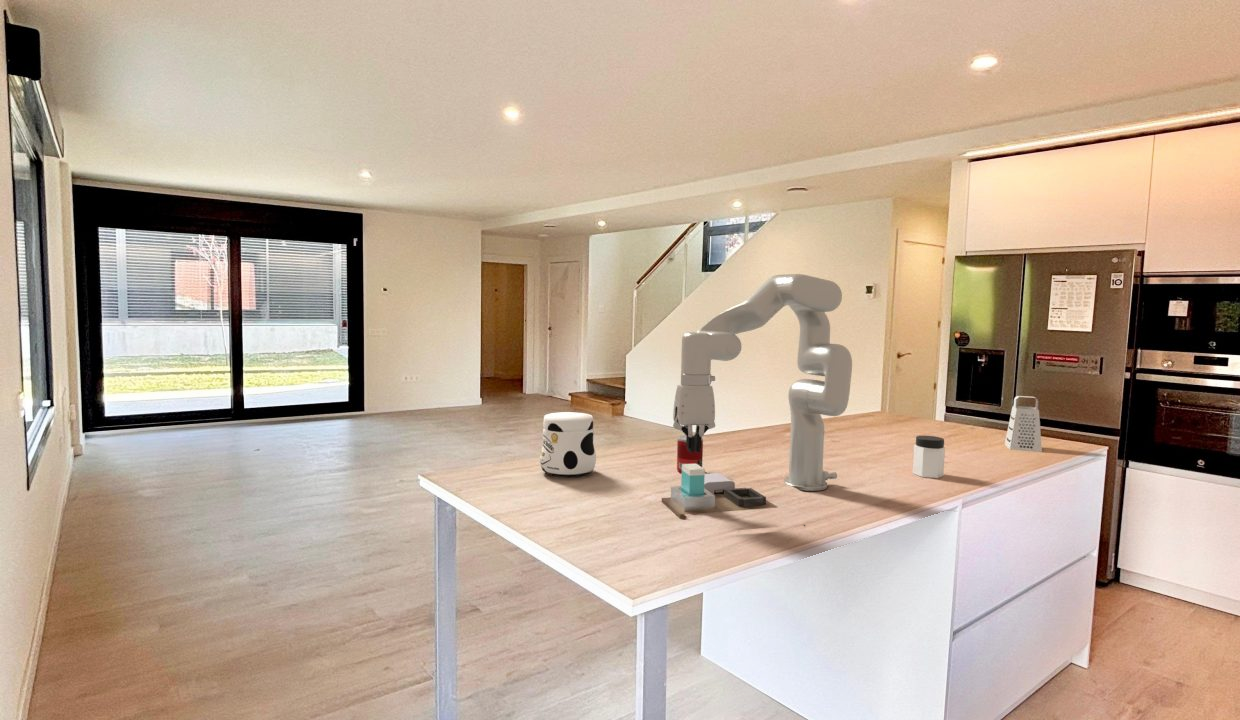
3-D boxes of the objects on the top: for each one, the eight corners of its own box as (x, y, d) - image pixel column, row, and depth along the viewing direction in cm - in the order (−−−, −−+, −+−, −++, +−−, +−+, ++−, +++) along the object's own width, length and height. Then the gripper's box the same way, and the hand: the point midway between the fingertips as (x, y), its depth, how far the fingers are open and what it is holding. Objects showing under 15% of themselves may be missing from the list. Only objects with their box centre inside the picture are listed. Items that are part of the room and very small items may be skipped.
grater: (1041, 452, 244) (1045, 399, 242) (1009, 449, 248) (1013, 397, 246) (1035, 446, 254) (1038, 396, 252) (1004, 444, 258) (1007, 394, 256)
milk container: (528, 474, 199) (528, 416, 198) (564, 463, 214) (564, 409, 212) (572, 484, 190) (572, 423, 188) (606, 472, 204) (607, 415, 202)
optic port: (699, 497, 175) (699, 485, 174) (714, 509, 165) (715, 495, 165) (670, 499, 172) (670, 486, 172) (684, 511, 163) (684, 497, 162)
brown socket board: (753, 495, 181) (753, 485, 181) (778, 511, 168) (778, 499, 167) (661, 501, 174) (661, 490, 174) (679, 518, 160) (680, 506, 160)
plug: (695, 500, 172) (696, 463, 171) (703, 507, 166) (704, 469, 165) (680, 501, 171) (681, 464, 170) (688, 508, 165) (689, 469, 164)
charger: (712, 483, 194) (734, 497, 180) (683, 484, 192) (703, 499, 177) (713, 467, 194) (735, 480, 179) (684, 469, 191) (704, 482, 177)
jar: (948, 478, 204) (951, 440, 203) (926, 479, 202) (928, 441, 201) (929, 470, 212) (931, 434, 211) (907, 471, 211) (909, 435, 210)
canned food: (703, 475, 202) (704, 440, 201) (677, 474, 202) (678, 440, 201) (700, 469, 210) (701, 435, 209) (675, 468, 210) (676, 435, 209)
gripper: (717, 378, 172) (715, 447, 173) (662, 379, 168) (660, 449, 169) (729, 382, 164) (727, 453, 166) (672, 382, 160) (670, 456, 162)
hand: (693, 451), depth 167 cm, fingers closed
